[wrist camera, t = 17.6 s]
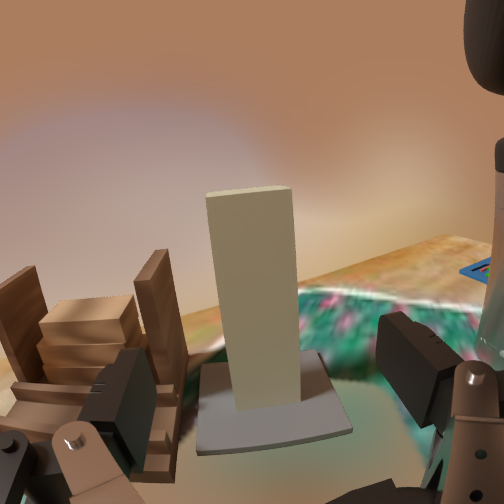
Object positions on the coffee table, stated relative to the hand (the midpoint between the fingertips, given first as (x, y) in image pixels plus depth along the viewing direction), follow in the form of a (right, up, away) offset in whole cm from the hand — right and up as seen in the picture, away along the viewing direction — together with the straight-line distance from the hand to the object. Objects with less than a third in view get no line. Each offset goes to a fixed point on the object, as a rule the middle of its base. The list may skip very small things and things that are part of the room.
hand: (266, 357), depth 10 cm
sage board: (+1, -8, +14) cm, 16 cm away
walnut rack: (-14, -10, +13) cm, 22 cm away
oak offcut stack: (-15, -8, +17) cm, 24 cm away
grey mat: (+1, -9, +14) cm, 17 cm away
